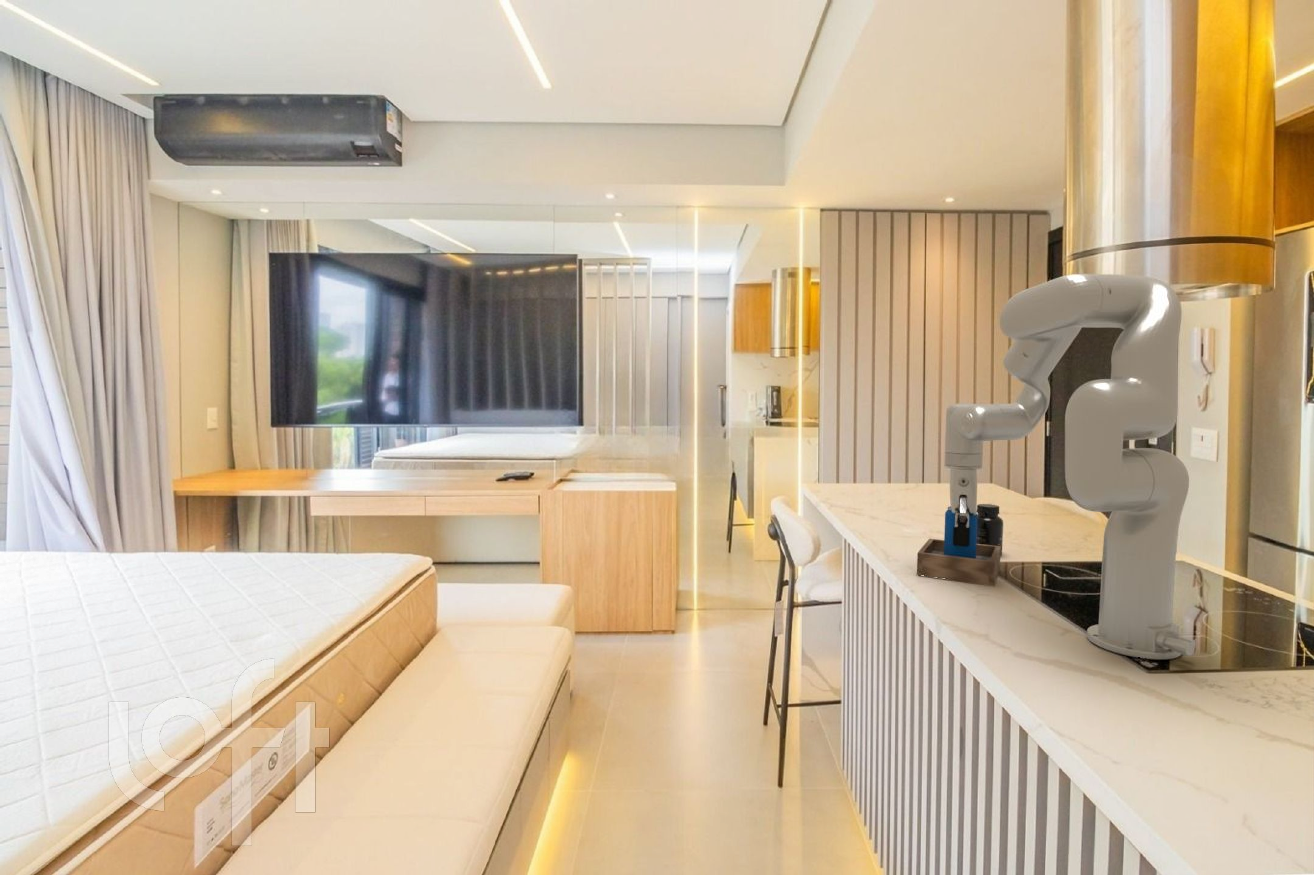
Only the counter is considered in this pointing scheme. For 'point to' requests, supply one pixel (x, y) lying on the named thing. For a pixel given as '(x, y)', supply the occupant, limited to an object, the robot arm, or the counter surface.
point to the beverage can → (948, 536)
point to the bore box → (959, 563)
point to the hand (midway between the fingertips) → (960, 541)
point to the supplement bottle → (989, 525)
